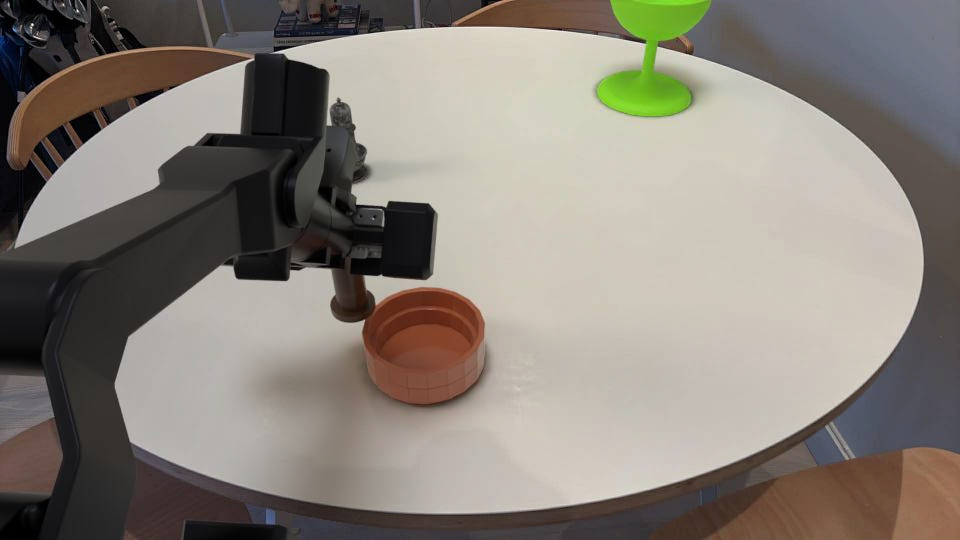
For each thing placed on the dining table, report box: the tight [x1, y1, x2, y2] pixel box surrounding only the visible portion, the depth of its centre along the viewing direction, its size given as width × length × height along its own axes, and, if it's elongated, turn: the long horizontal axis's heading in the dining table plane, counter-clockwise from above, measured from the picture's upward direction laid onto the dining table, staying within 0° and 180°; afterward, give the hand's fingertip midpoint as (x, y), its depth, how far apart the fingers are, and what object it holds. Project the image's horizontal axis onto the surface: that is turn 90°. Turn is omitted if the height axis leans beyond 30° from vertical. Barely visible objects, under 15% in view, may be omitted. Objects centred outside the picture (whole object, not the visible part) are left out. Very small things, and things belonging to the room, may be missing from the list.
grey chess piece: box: [329, 96, 368, 184], centre depth 97 cm, size 6×6×12 cm
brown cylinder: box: [329, 212, 377, 324], centre depth 65 cm, size 4×4×13 cm
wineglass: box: [596, 0, 713, 118], centre depth 114 cm, size 16×16×18 cm
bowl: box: [361, 286, 486, 405], centre depth 72 cm, size 12×12×5 cm
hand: (349, 247), depth 66 cm, fingers closed on brown cylinder, 3 cm apart
